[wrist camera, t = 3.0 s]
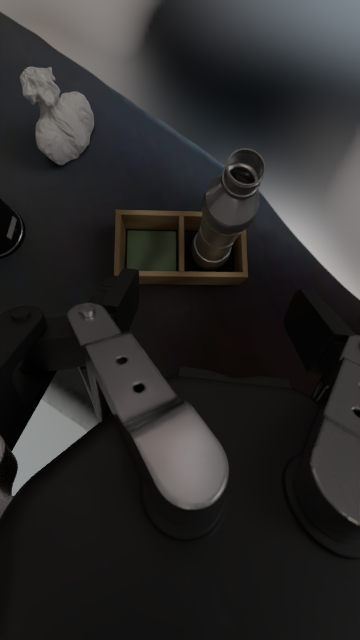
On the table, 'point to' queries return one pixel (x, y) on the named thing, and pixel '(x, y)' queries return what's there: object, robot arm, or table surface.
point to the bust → (58, 116)
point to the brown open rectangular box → (168, 249)
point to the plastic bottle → (228, 208)
